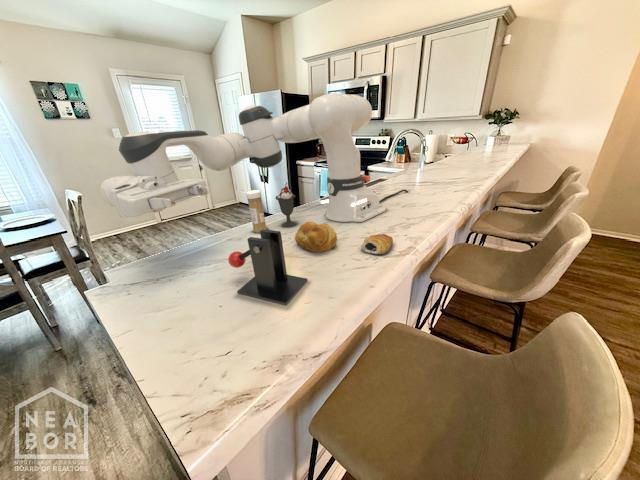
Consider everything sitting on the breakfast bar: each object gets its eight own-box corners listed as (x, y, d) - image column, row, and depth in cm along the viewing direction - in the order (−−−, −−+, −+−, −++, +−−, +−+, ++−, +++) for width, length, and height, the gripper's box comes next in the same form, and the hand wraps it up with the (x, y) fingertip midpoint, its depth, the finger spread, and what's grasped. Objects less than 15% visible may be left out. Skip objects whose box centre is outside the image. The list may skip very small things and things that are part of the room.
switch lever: (231, 272, 57) (222, 259, 57) (242, 264, 60) (233, 251, 60) (270, 252, 50) (259, 236, 49) (280, 244, 53) (270, 229, 52)
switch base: (238, 295, 55) (224, 240, 50) (263, 274, 63) (253, 224, 57) (286, 308, 50) (277, 248, 45) (308, 283, 58) (302, 229, 52)
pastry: (377, 238, 76) (377, 226, 74) (399, 244, 72) (400, 231, 70) (359, 251, 70) (358, 238, 68) (381, 258, 66) (382, 244, 64)
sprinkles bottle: (269, 230, 88) (262, 191, 82) (256, 234, 86) (248, 193, 80) (263, 226, 91) (257, 188, 86) (251, 230, 89) (243, 191, 84)
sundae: (293, 228, 88) (288, 184, 82) (276, 227, 90) (269, 183, 84) (301, 221, 93) (297, 179, 87) (285, 220, 96) (279, 179, 89)
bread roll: (288, 246, 76) (284, 220, 72) (313, 235, 82) (310, 210, 78) (319, 260, 67) (316, 231, 64) (344, 246, 73) (343, 219, 70)
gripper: (188, 195, 75) (225, 197, 70) (113, 219, 58) (153, 225, 53) (182, 173, 73) (219, 173, 67) (101, 192, 56) (142, 194, 50)
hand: (190, 196), depth 60 cm, fingers open, 8 cm apart
